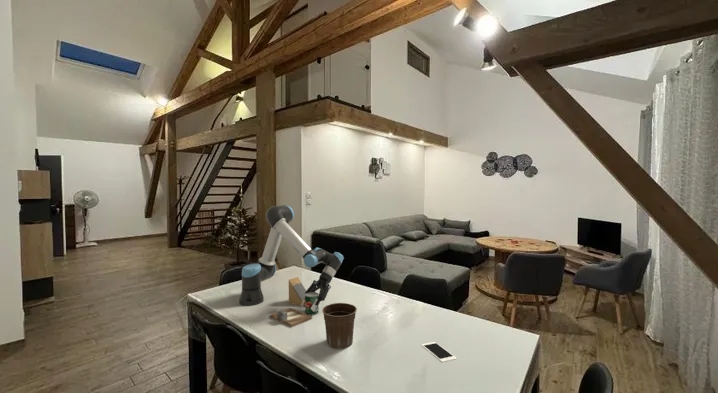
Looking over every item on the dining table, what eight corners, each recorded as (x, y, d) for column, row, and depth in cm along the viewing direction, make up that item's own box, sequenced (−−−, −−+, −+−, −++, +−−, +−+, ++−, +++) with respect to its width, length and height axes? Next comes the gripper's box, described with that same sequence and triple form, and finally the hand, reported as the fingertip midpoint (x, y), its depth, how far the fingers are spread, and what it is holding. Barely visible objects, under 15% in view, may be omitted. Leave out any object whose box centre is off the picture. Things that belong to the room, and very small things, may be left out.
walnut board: (269, 317, 176) (269, 307, 176) (289, 310, 187) (289, 301, 187) (291, 327, 163) (291, 316, 163) (311, 319, 174) (311, 309, 174)
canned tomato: (302, 314, 181) (302, 295, 181) (309, 309, 188) (309, 291, 188) (314, 316, 178) (314, 297, 178) (320, 311, 186) (320, 292, 185)
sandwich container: (306, 307, 192) (306, 283, 192) (288, 302, 200) (288, 279, 200) (315, 303, 199) (315, 280, 199) (297, 299, 207) (297, 276, 207)
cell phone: (442, 363, 130) (442, 361, 130) (420, 345, 145) (420, 344, 145) (457, 359, 133) (457, 358, 133) (434, 342, 148) (434, 341, 148)
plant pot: (343, 355, 135) (343, 318, 135) (315, 345, 144) (315, 311, 144) (363, 340, 149) (363, 307, 149) (335, 332, 158) (336, 300, 157)
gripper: (342, 281, 188) (322, 316, 176) (319, 275, 201) (299, 307, 189) (336, 274, 184) (315, 309, 172) (313, 268, 197) (292, 300, 185)
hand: (307, 308), depth 181 cm, fingers closed on canned tomato, 8 cm apart
